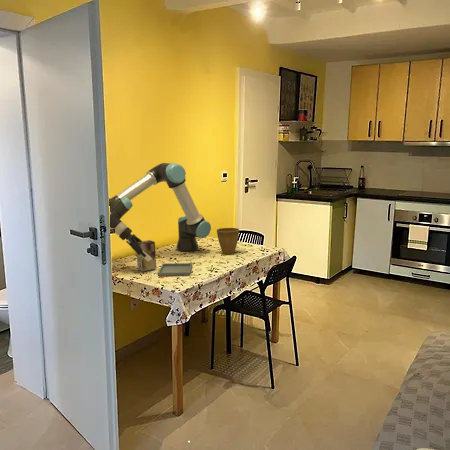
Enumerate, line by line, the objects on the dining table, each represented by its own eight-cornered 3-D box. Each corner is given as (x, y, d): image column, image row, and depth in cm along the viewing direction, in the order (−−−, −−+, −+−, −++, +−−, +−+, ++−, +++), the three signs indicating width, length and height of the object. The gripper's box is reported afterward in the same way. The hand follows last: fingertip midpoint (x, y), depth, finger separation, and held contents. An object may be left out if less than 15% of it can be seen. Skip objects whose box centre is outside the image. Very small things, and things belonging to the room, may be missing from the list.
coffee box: (151, 266, 266) (150, 239, 263) (156, 268, 261) (155, 241, 258) (137, 269, 261) (135, 241, 258) (142, 271, 256) (140, 243, 253)
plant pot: (240, 250, 306) (240, 227, 303) (238, 256, 291) (238, 231, 288) (218, 250, 307) (217, 227, 304) (215, 255, 292) (215, 231, 290)
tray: (162, 266, 268) (162, 263, 267) (192, 266, 267) (192, 263, 267) (157, 276, 248) (157, 272, 248) (189, 276, 248) (189, 272, 248)
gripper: (122, 232, 268) (150, 257, 271) (113, 240, 246) (143, 267, 249) (131, 223, 267) (159, 248, 270) (122, 230, 245) (152, 258, 248)
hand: (151, 257), depth 260 cm, fingers closed on coffee box, 10 cm apart
